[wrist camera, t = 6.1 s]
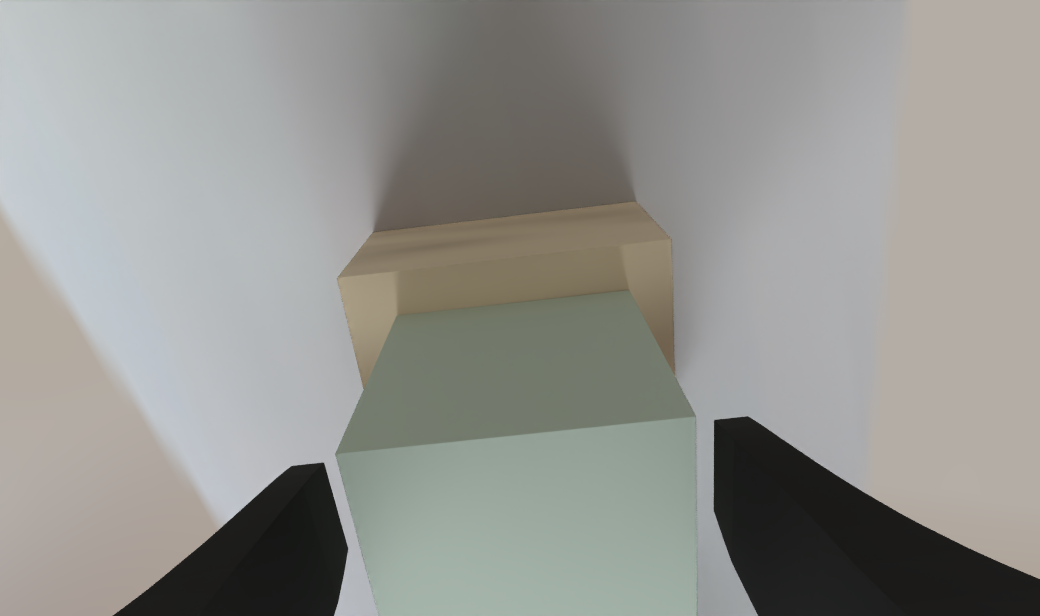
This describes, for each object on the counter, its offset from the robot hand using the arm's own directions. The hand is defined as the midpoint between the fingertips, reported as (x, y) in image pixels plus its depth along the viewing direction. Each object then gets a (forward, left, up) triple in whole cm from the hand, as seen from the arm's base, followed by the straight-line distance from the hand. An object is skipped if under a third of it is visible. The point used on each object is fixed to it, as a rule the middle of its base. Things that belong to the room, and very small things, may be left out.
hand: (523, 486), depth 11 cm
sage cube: (0, 0, -3) cm, 3 cm away
